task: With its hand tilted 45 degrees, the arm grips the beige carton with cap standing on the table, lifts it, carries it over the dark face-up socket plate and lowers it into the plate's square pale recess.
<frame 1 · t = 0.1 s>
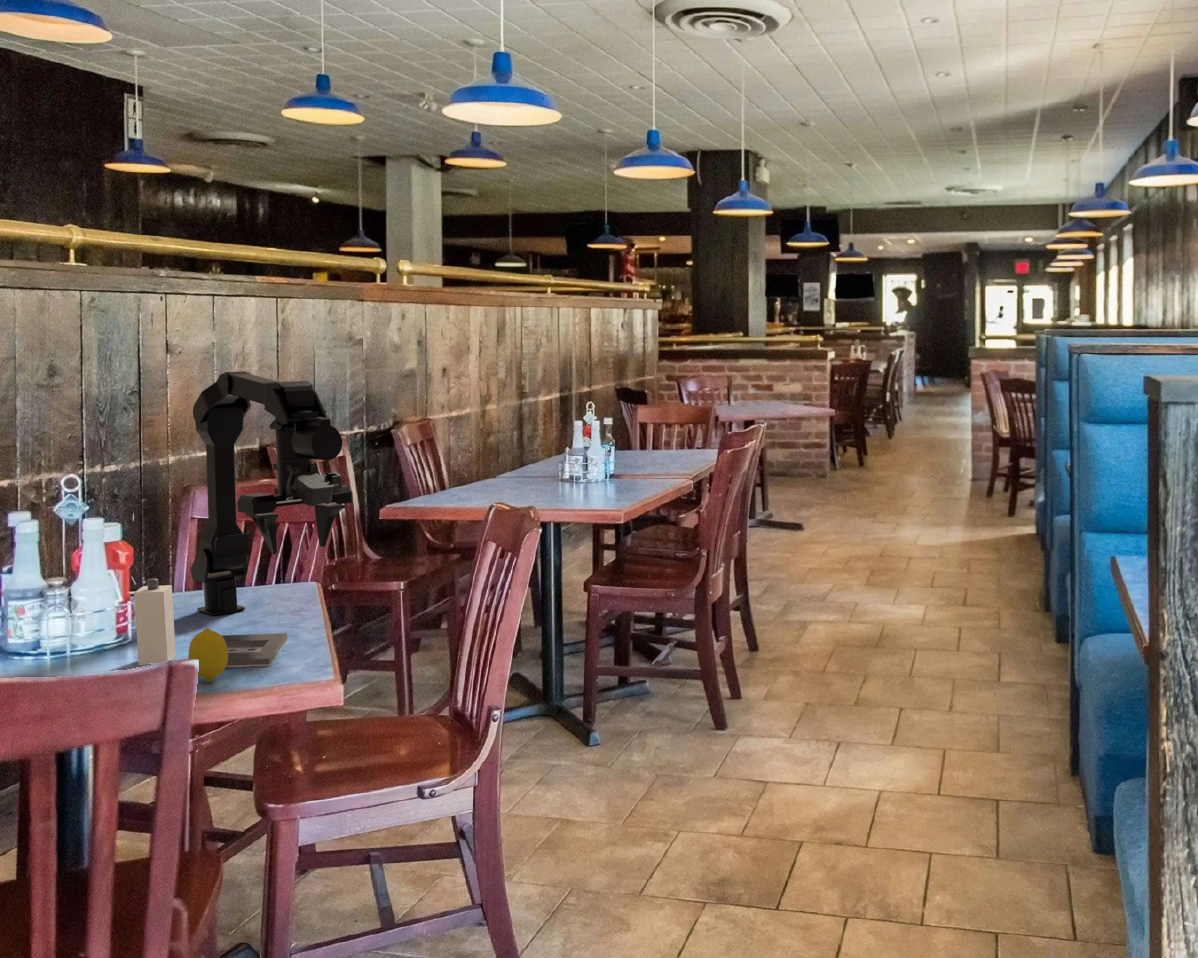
hand: (298, 550, 206), 15 cm above the table, tool pointing down, fingers open, 9 cm apart
beige carton with cap: (157, 660, 193), on the table
lemon: (209, 682, 181), on the table
socket plate: (240, 653, 197), on the table
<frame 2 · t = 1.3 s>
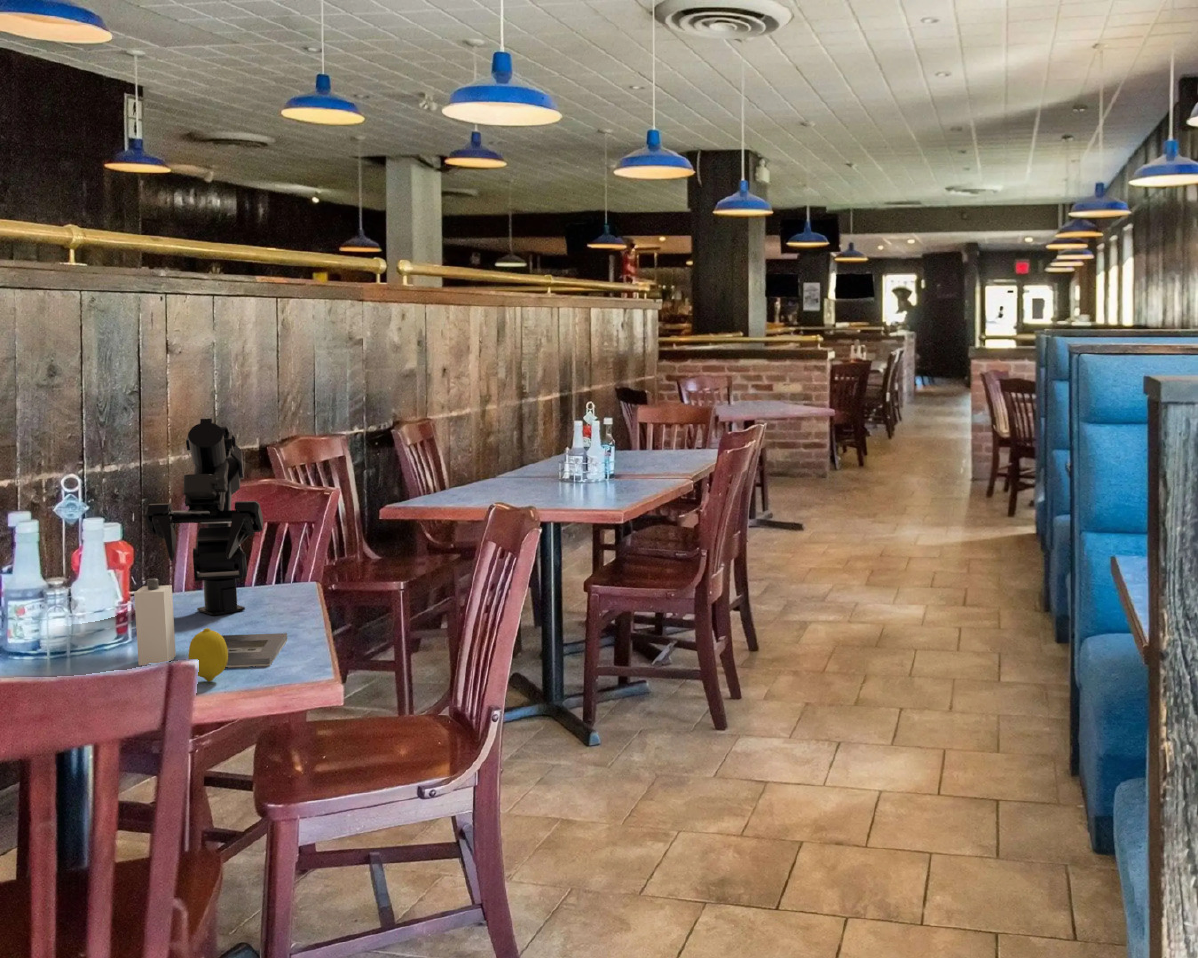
hand: (199, 558, 206), 14 cm above the table, tool tilted 45°, fingers open, 9 cm apart
nothing on the table moved.
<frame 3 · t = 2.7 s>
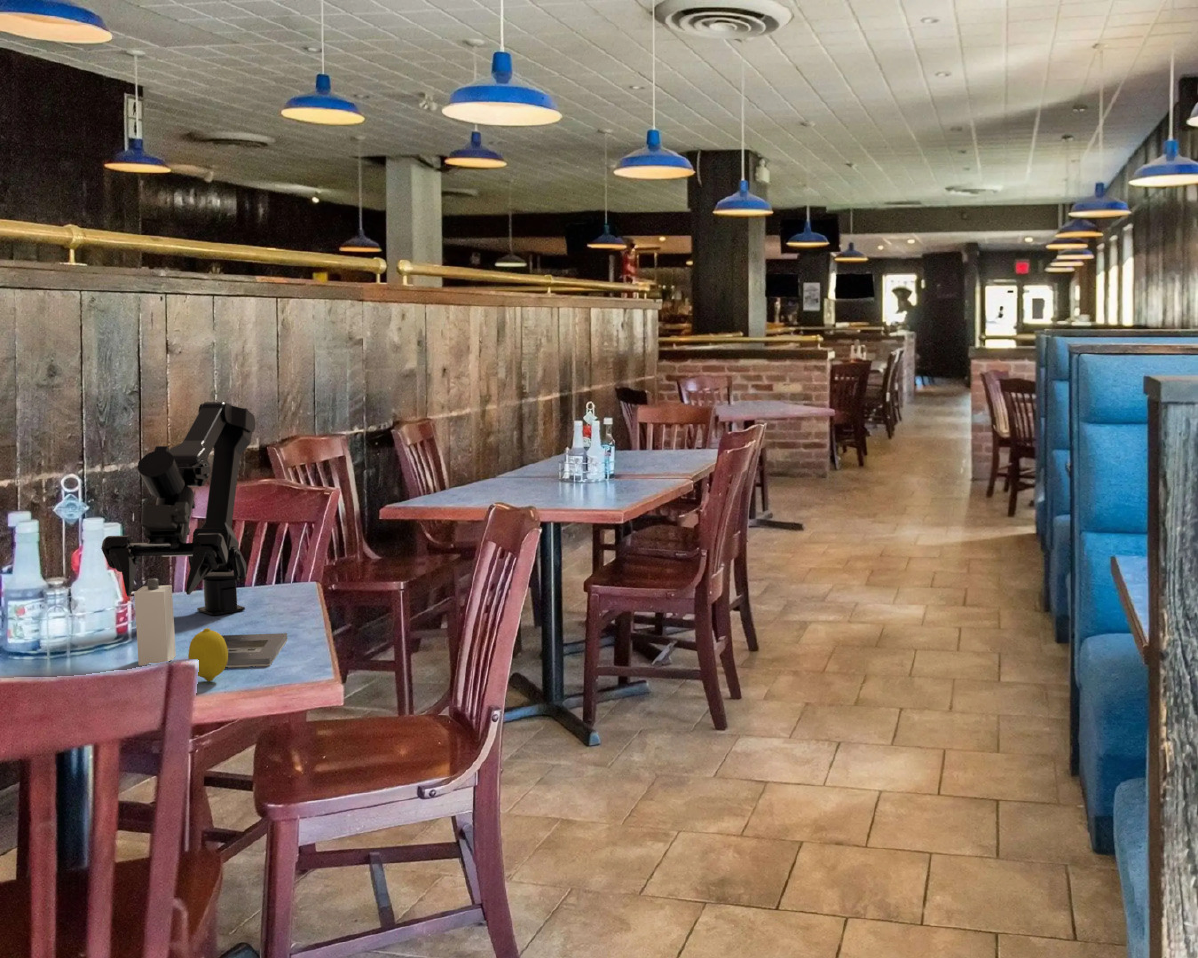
hand: (157, 594, 195), 10 cm above the table, tool tilted 45°, fingers open, 9 cm apart
nothing on the table moved.
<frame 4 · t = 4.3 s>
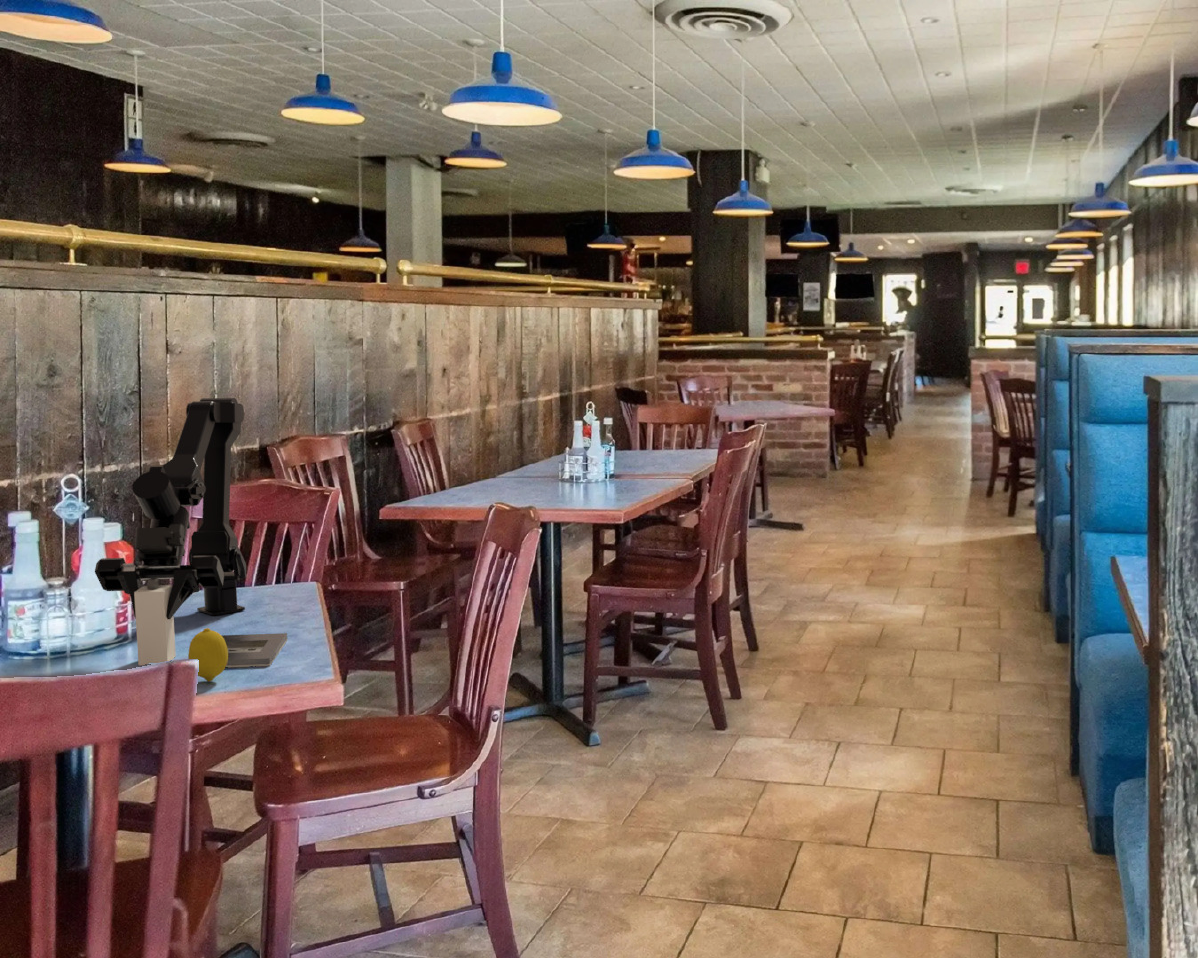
hand: (152, 618, 191), 7 cm above the table, tool tilted 45°, fingers closed on beige carton with cap, 4 cm apart
beige carton with cap: (157, 660, 193), on the table, touching gripper
everything else where it was.
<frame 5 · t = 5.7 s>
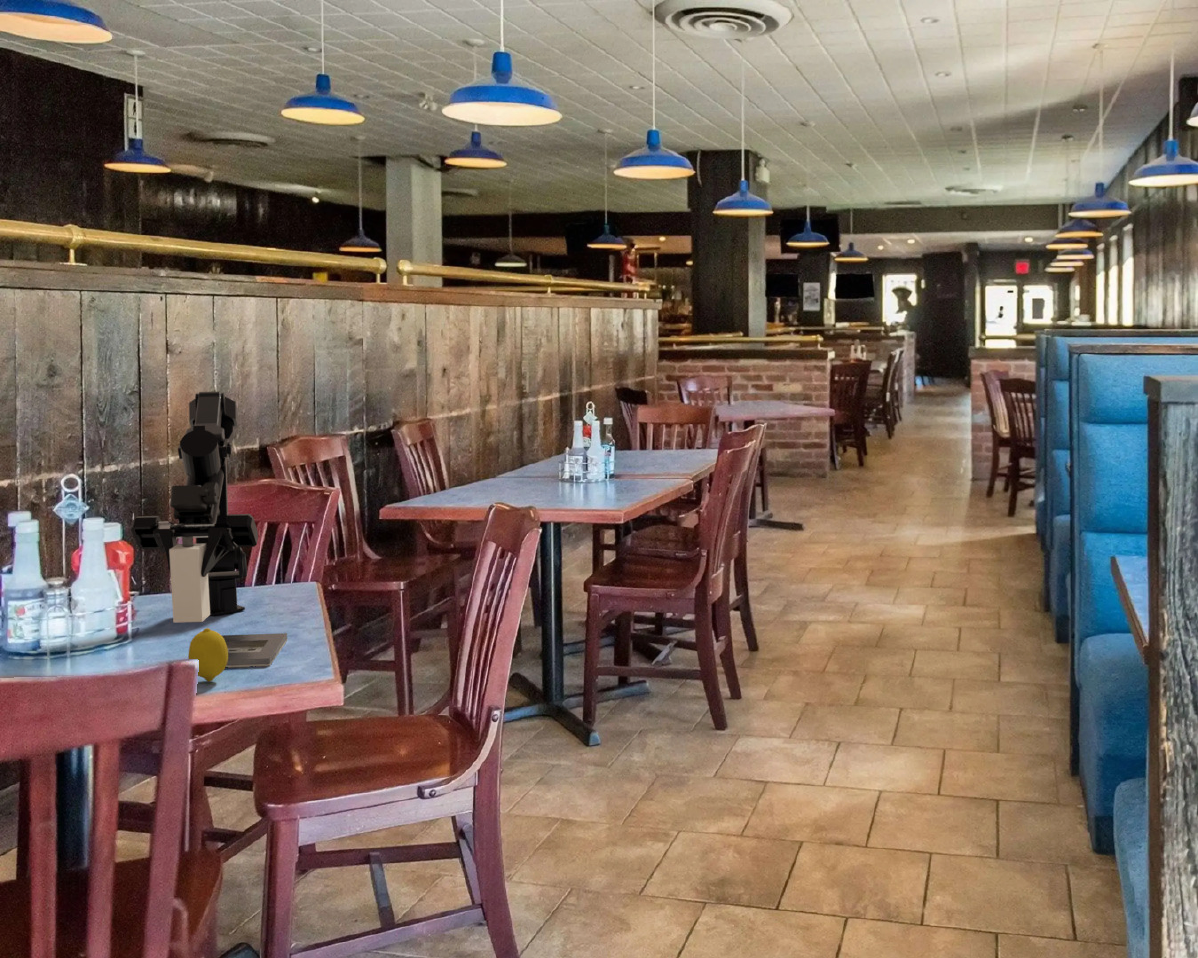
hand: (187, 575, 192), 13 cm above the table, tool tilted 45°, fingers closed on beige carton with cap, 4 cm apart
beige carton with cap: (192, 618, 194), point 6 cm above the table, touching gripper
everything else where it was.
when the fingers open (9 cm above the table, at t = 7.6 s): beige carton with cap drops 1 cm, resting on socket plate.
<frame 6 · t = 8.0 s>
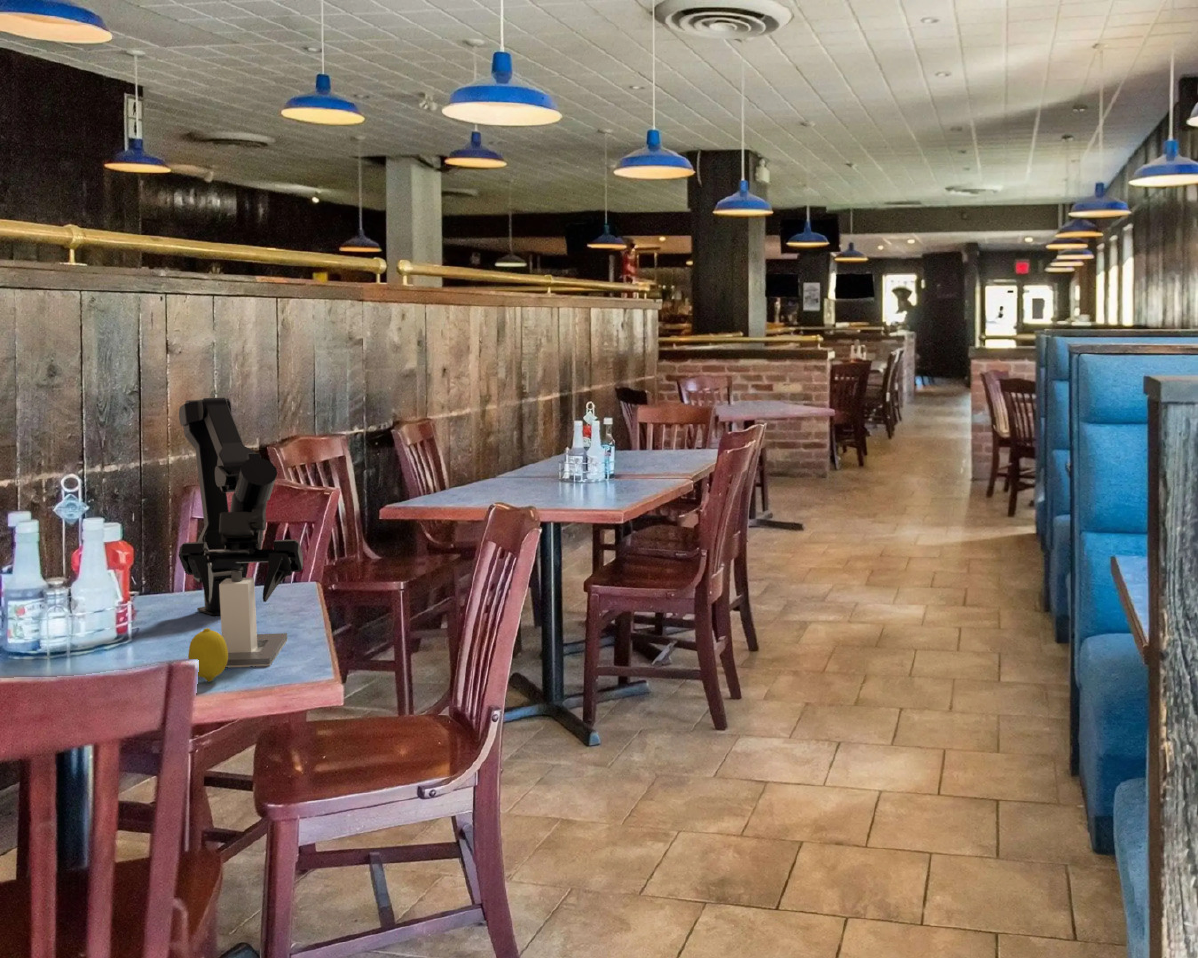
hand: (236, 601, 194), 9 cm above the table, tool tilted 45°, fingers open, 8 cm apart
beige carton with cap: (240, 651, 197), resting on socket plate
everything else where it was.
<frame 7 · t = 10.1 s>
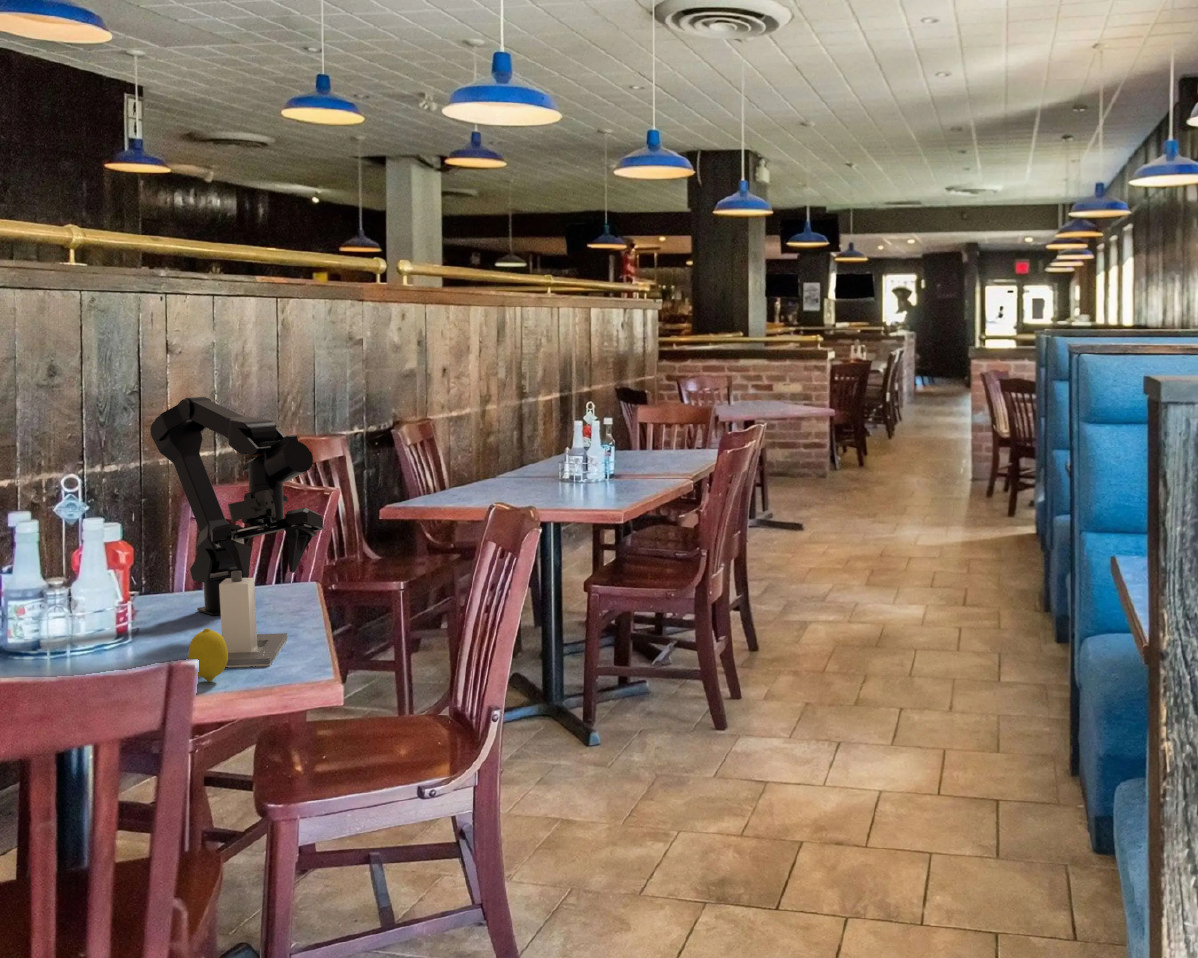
hand: (268, 577, 209), 10 cm above the table, tool tilted 25°, fingers open, 9 cm apart
nothing on the table moved.
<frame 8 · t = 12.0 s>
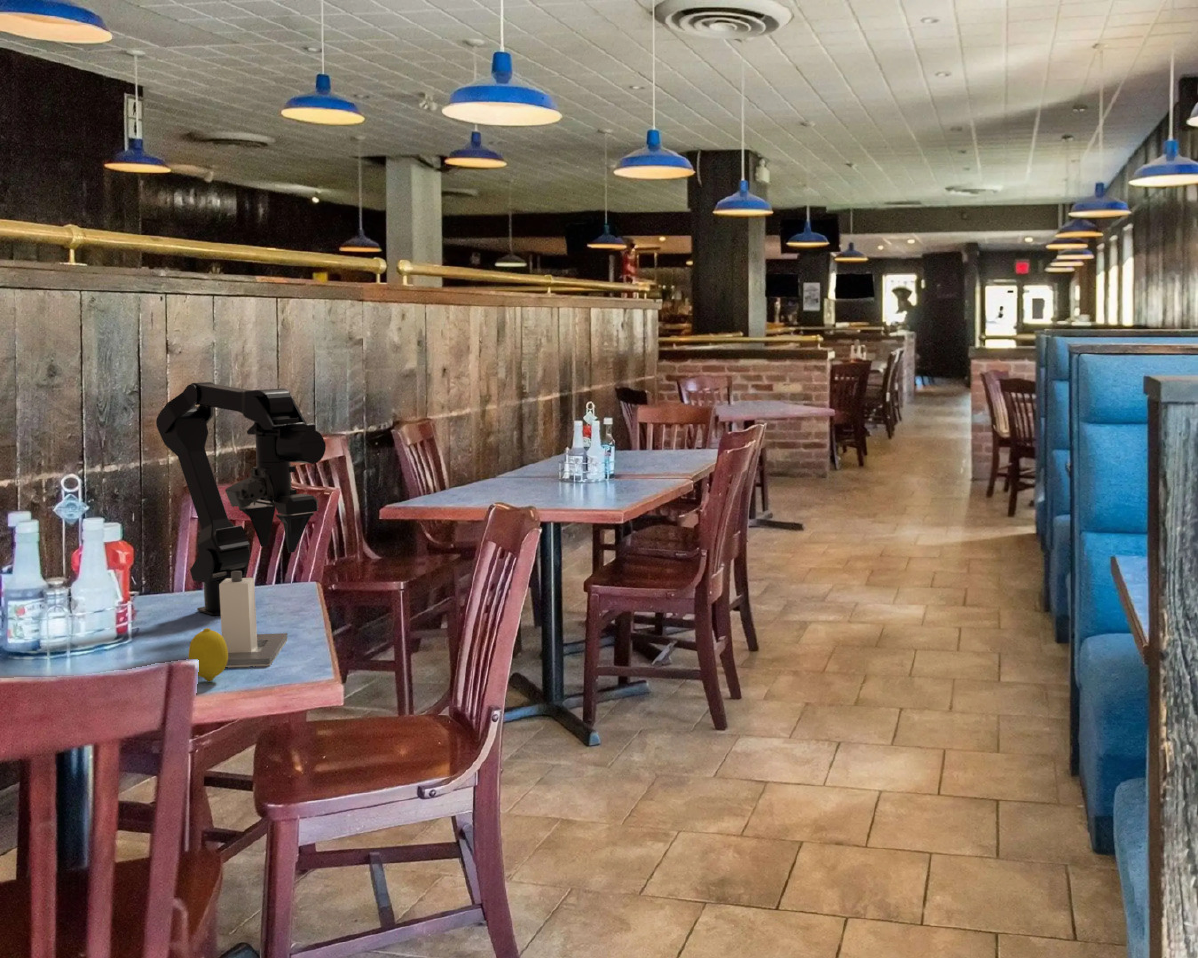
hand: (277, 549, 217), 13 cm above the table, tool pointing down, fingers open, 9 cm apart
nothing on the table moved.
at the end: beige carton with cap 0.1 cm off-centre on the socket plate, point 0.3 cm above the socket plate's base; beige carton with cap tilted 0°; the gripper is holding nothing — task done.
